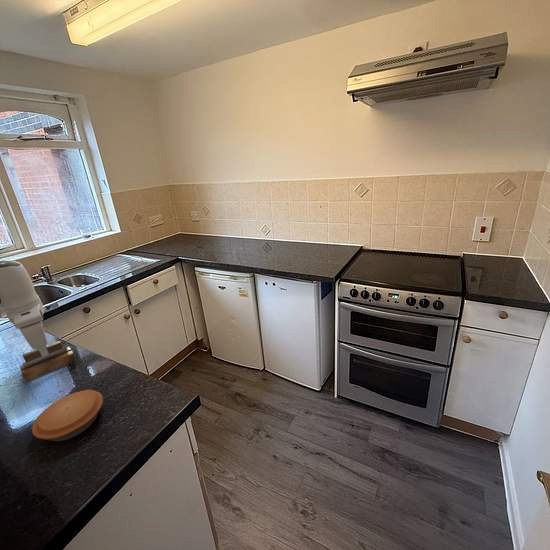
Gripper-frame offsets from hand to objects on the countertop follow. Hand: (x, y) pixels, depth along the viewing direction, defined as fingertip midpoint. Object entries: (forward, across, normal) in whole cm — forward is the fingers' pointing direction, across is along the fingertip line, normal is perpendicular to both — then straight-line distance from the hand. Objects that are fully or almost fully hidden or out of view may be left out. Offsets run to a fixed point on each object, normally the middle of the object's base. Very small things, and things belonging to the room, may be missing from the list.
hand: (43, 348), depth 97 cm
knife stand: (+9, 0, 0) cm, 9 cm away
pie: (+9, +32, +1) cm, 33 cm away
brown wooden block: (+7, 0, 0) cm, 7 cm away
